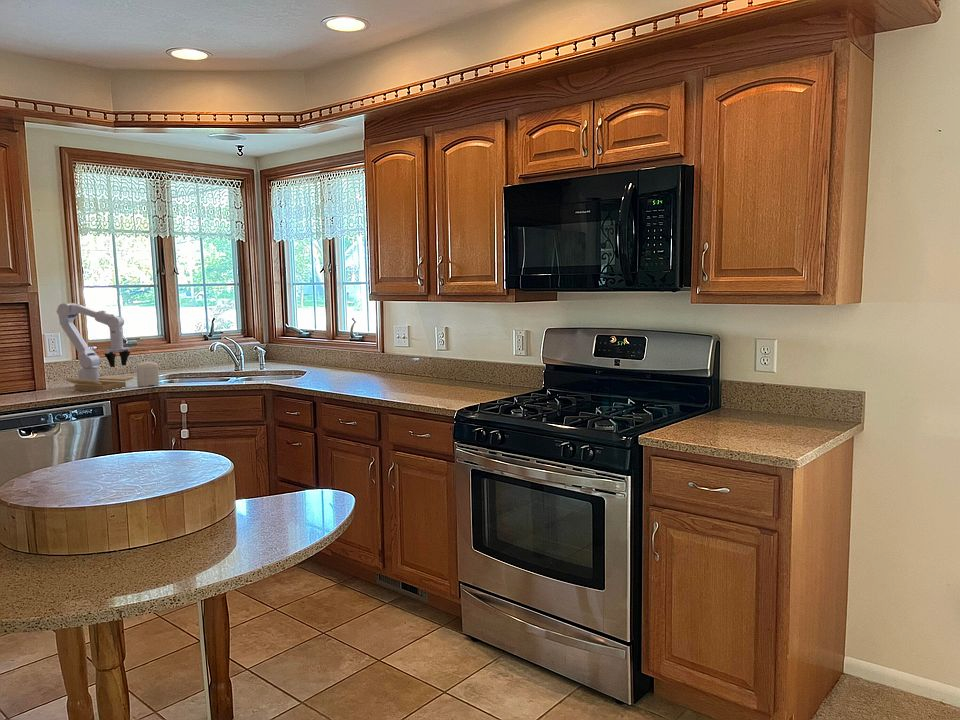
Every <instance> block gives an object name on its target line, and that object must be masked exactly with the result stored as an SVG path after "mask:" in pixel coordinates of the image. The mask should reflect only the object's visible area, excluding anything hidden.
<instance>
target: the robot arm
mask: <svg viewBox="0 0 960 720" xmlns="http://www.w3.org/2000/svg"><path fill="white" fill-rule="evenodd" d="M56 313H57V315H58V320H59V325H60V326H61V328H62V329H63V331H64V333H65V334H66V336H67V337H68V338H69V340H70V342H71V344H72V345H73V347H74V348H75V350H76V351H77V353H78V355H77V359H78V361H79V365H80V367H82V368H80V369H79V371H78V373H77V374H78V379H92V380H96V381H101V380H98V378H100V369H99V368H100V365H101V363H102V359H101V356H100V355H99V354H97V353H96V351H94V350H93V349H91V348H90V347H89V345H88V344H87V342H86V341H85V339H84V338H83V336H82V335H81V333H80V332H79V330H78V328H77V327H76V325H75V324H74V320H75V319H76V317H77V316H78V315H79V314H82V315H84V316H85V315H86V316H88V317H92V318H94V320H95V321H96V322H98V323H101V324H103V325H106V326H107V327H108V329H109V337H110V348H107V349H104V357H105V358H106V359H107V361H108V362H107V363H108V364H109V366H110V368H115V366H116V365H115V362H116V361H115V360H116V357H117V356H116V355H117V354H116V353H119V356H120V364H121V366H127V364H128V363H127V361H128V359H129V356H130V354H131V349H130V348H131V347H130V346H129V347H128V346H126V347H125V346H124V336H123V326H124V324H125V320H124V319H123V318H122V317H121V316H120V315H116V316H115V314H113V313H108V312H106V310H103V309H102V310H98V311H96V310H93V309H91V308H89V307H86V306H84V305H81V304H80V303H77V302H71V303H63V302H62V303H60V304H59V305H58V306H57V309H56Z"/></svg>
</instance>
